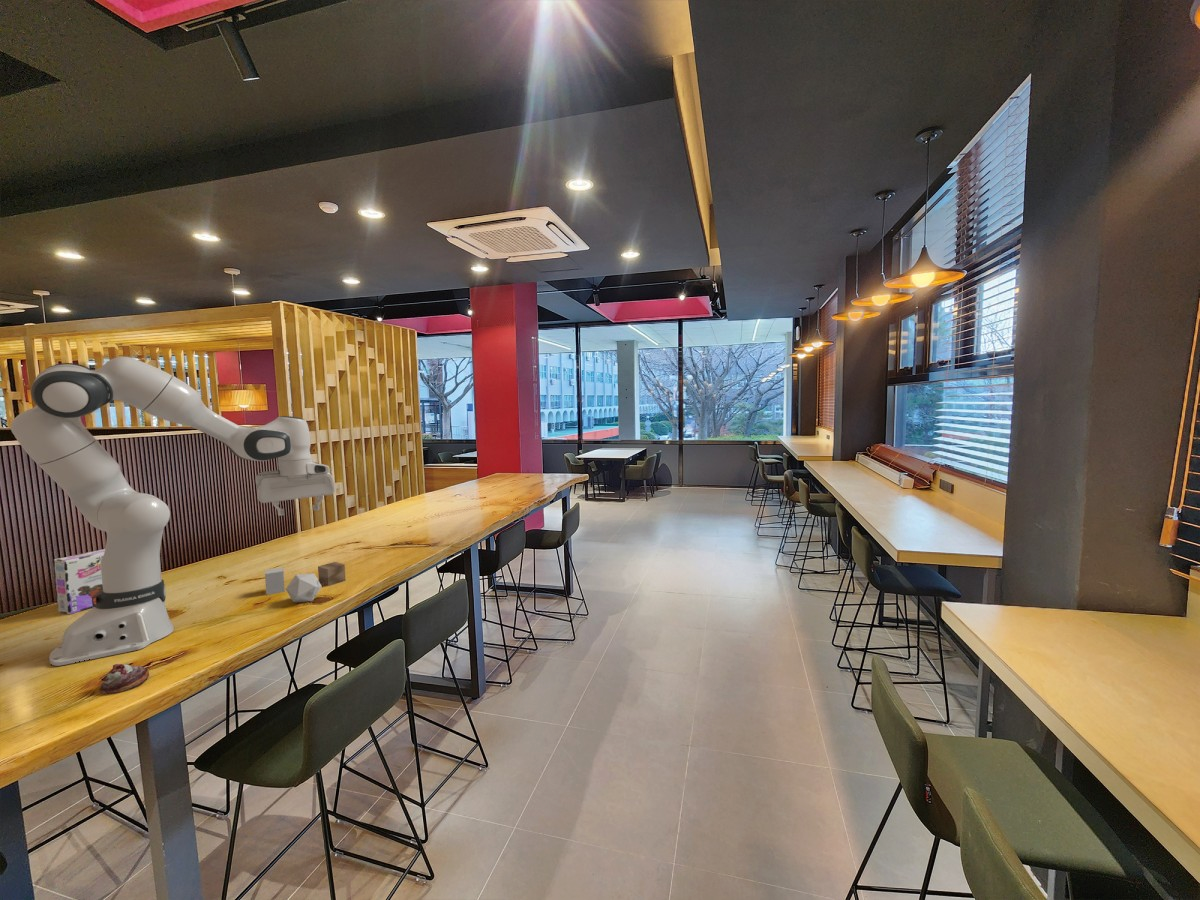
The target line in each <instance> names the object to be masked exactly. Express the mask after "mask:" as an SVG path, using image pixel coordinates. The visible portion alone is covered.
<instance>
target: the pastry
mask: <svg viewBox="0 0 1200 900" xmlns="http://www.w3.org/2000/svg"><path fill="white" fill-rule="evenodd" d="M149 672H150V671H149V670H148V668H146V667H145V666H140V665H135V666H131V665H130V664H123V663H120V664H119V663H115V664H113V665H112V669H111V670H109V671H108V672H107V674H105V675H104V677H103V680H102V681H103V682H102V683H101V684H100V686H99V692H100V693H101V694H103V695H115V694H120V693H123V692H126V691H127V692H128V691H130V690H133V689H136V688H138V687H141V686H142V685H143V684H144V683H145V682H146V681H147V680H148V678H149V677H150V673H149Z"/></svg>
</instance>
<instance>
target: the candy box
mask: <svg viewBox="0 0 1200 900" xmlns="http://www.w3.org/2000/svg"><path fill="white" fill-rule="evenodd" d="M104 552H105V548H104V549H98V550H94V551H88V552H85V553H79V554H75V555H69V556H66V557H58V558H54V559H53V564H54V565H53V566H54V578H55V588H56V590H55V591H56V600H57V601H56V602H57V612H58V613H62V614H67V615H72V614H75V613H79V612H82V611H86V610H91V609H92V608H93V605H92V599H91V597H90V596H91V593H93V591H95V590H100V591H102V590H103V585H102V574H101V564H100V562H101V559H102V557H103V556H104Z"/></svg>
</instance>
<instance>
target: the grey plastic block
mask: <svg viewBox="0 0 1200 900" xmlns="http://www.w3.org/2000/svg"><path fill="white" fill-rule="evenodd" d="M284 572H285V571H284V567H282V566H281V567H276V568H271V569H270V568H269V569H265V570H264V581H265V594H266V596H268V595H273V594H274V595H275V594H279V593H284V592H286V587H285V573H284Z"/></svg>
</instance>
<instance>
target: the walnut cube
mask: <svg viewBox="0 0 1200 900" xmlns="http://www.w3.org/2000/svg"><path fill="white" fill-rule="evenodd" d="M317 573H318V581H319V583H320V584H321V585H324V586H327V587H330V586H333V585H337V584H340V583H343V582H346V579H347V578H346V564H345V563H341V562H338V561H333V562H329V563H325V564H321V565H318V566H317Z"/></svg>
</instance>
